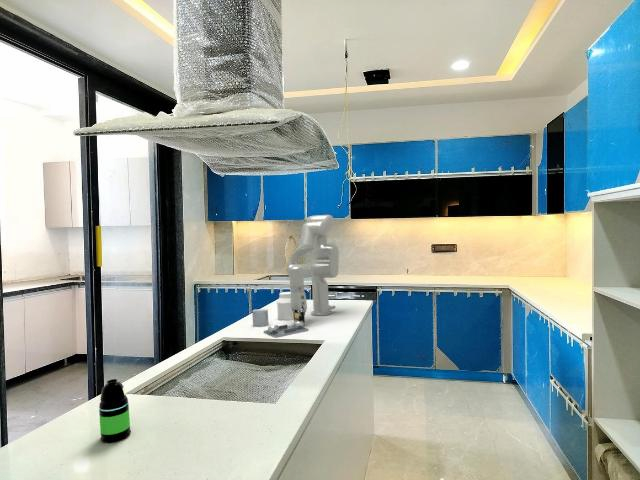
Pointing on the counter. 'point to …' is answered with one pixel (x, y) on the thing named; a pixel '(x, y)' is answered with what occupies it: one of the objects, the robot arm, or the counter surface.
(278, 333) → the shaft bench
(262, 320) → the medicine box
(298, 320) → the cylinder
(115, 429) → the bottle
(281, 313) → the jar
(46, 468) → the counter surface
